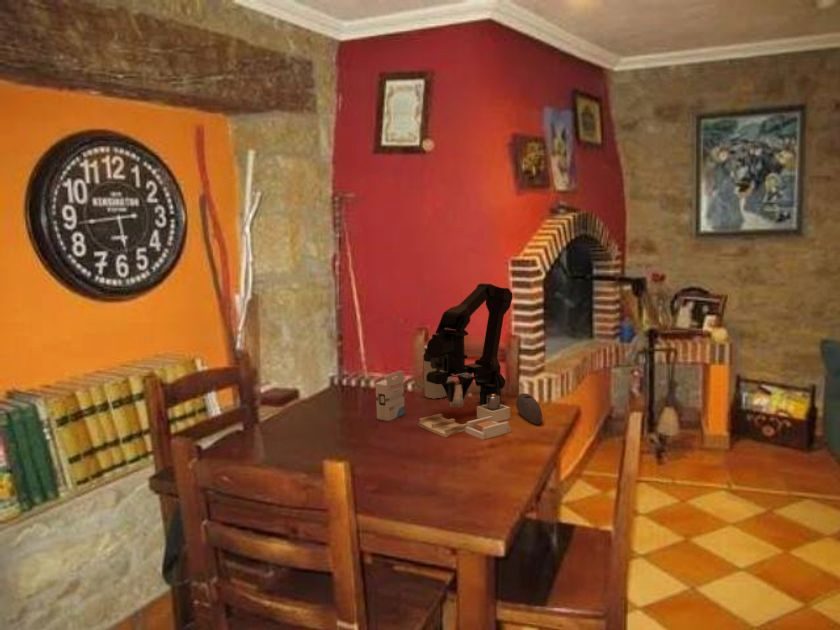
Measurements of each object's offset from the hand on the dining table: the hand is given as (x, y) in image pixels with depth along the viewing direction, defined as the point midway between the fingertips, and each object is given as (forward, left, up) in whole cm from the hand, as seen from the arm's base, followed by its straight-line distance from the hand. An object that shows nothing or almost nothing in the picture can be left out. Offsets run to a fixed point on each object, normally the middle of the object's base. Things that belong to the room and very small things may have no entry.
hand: (456, 400), depth 202 cm
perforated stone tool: (-16, +16, -6) cm, 24 cm away
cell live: (0, 0, -2) cm, 2 cm away
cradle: (+2, +17, -6) cm, 18 cm away
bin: (-8, +8, -6) cm, 13 cm away
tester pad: (+2, +17, -6) cm, 18 cm away
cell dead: (-8, +8, -5) cm, 13 cm away
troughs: (+9, +5, -6) cm, 12 cm away
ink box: (+15, -15, -6) cm, 22 cm away
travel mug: (-10, -25, -6) cm, 28 cm away
